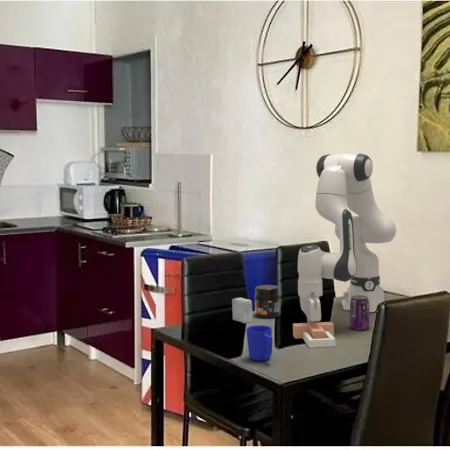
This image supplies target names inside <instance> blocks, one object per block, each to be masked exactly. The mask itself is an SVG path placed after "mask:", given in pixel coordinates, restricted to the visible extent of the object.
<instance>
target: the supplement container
mask: <svg viewBox="0 0 450 450" xmlns="http://www.w3.org/2000/svg"><path fill="white" fill-rule="evenodd" d="M254 291H255V294H254V296H253V298H254V315H255V317H256V318H259V317H260V318H259V319H265V318H269V319H276V318H278V317H280V315H281V294H280V293H279V292H280V287H279V286H278V285H274V284H273V285H272V284H263V285H257V286H256V287H255V290H254ZM275 317H276V318H275Z"/></svg>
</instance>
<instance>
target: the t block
mask: <svg viewBox="0 0 450 450" xmlns="http://www.w3.org/2000/svg"><path fill="white" fill-rule="evenodd" d="M334 327H335V325H334V323H333V322H332V321H325V322H324V321H323V322H322V321H315V322H314V323H308V322H300V323H292V335H293V338H294V339H295V340H296V339H303V332H308V334H309V335H310V336H311V337H312V339H324V338H325V331H329V333H330V334H331V335H332V336H333V337H334V338H335V330H334V329H335V328H334Z"/></svg>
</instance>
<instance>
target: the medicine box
mask: <svg viewBox="0 0 450 450" xmlns="http://www.w3.org/2000/svg"><path fill="white" fill-rule="evenodd" d="M231 305H232V306H231V308H232V310H231V311H232V320H233V321H236V322H240V323H242V324H247V323H252V322H253V301H252V300H251V299H247V298H244V297H235V298H232V299H231Z"/></svg>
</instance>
